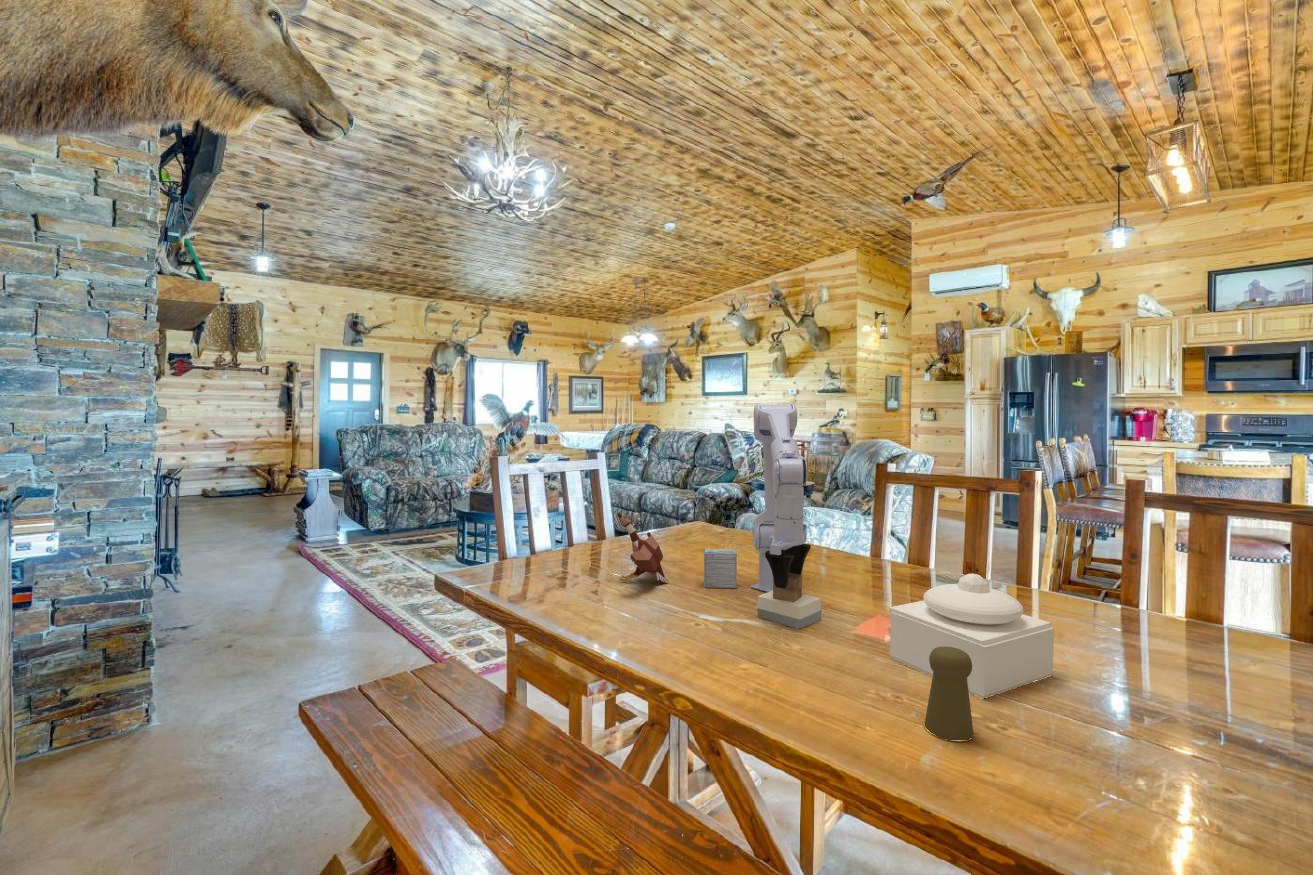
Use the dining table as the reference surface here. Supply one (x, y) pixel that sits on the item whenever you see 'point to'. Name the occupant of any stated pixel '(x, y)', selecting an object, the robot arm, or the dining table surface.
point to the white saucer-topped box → (974, 635)
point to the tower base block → (790, 618)
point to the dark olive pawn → (949, 694)
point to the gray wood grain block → (720, 568)
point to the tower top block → (790, 605)
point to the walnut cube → (789, 589)
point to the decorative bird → (644, 554)
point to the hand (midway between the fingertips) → (787, 582)
